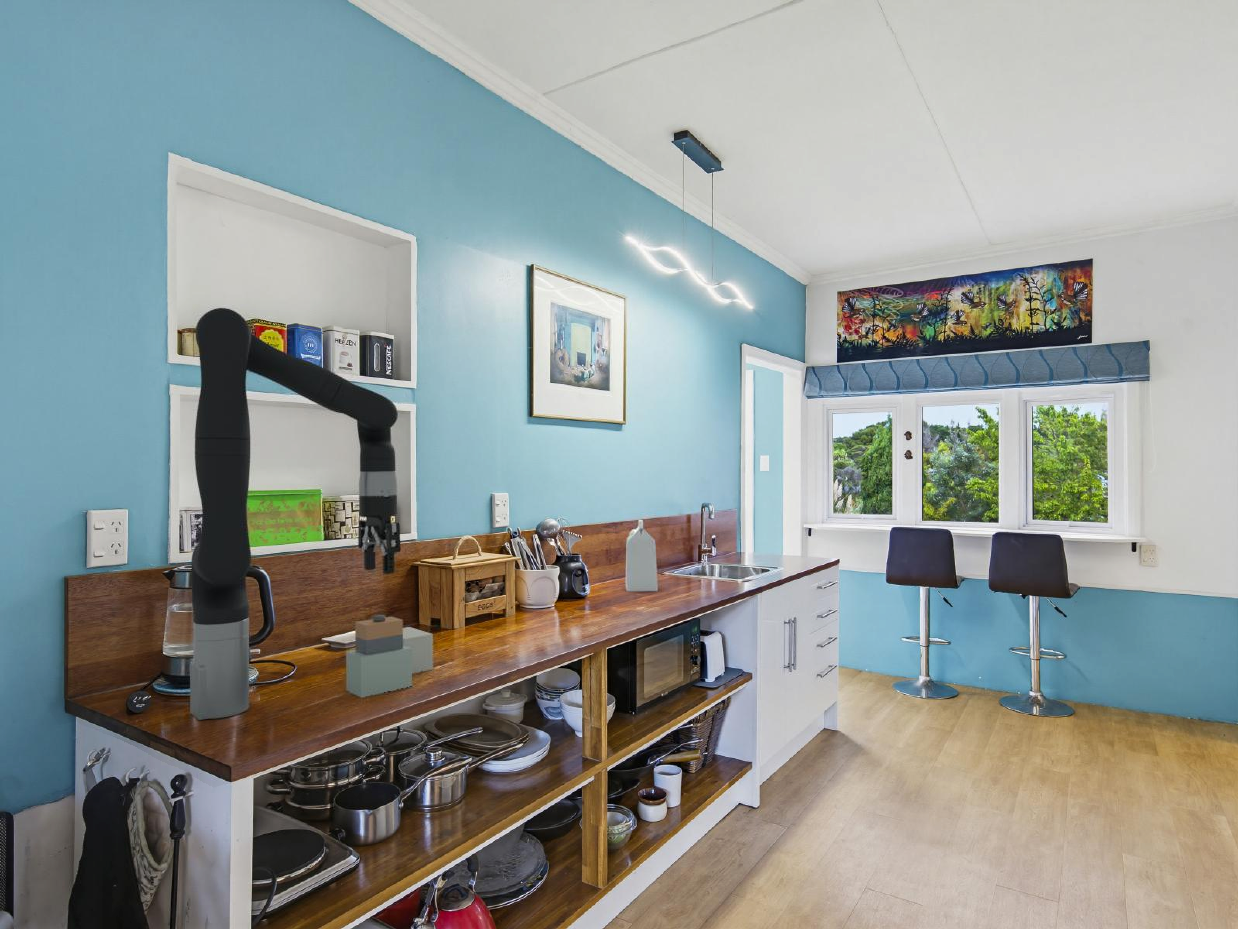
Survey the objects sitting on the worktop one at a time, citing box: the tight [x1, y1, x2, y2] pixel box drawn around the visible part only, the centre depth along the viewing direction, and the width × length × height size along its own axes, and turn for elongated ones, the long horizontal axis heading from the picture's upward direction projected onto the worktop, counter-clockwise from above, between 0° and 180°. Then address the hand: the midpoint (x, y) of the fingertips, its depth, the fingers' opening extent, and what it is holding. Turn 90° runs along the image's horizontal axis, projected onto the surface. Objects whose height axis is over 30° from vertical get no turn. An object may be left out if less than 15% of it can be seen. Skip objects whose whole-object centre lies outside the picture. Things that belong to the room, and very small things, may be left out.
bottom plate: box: [354, 634, 403, 655], centre depth 154 cm, size 8×5×3 cm, turn 134°
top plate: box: [354, 614, 404, 640], centre depth 154 cm, size 8×5×4 cm, turn 134°
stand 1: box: [345, 645, 413, 699], centre depth 154 cm, size 11×7×8 cm, turn 134°
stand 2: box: [403, 626, 434, 675], centre depth 170 cm, size 7×11×8 cm, turn 44°
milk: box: [624, 519, 659, 592], centre depth 283 cm, size 12×12×26 cm
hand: (379, 571), depth 154 cm, fingers open, 8 cm apart
